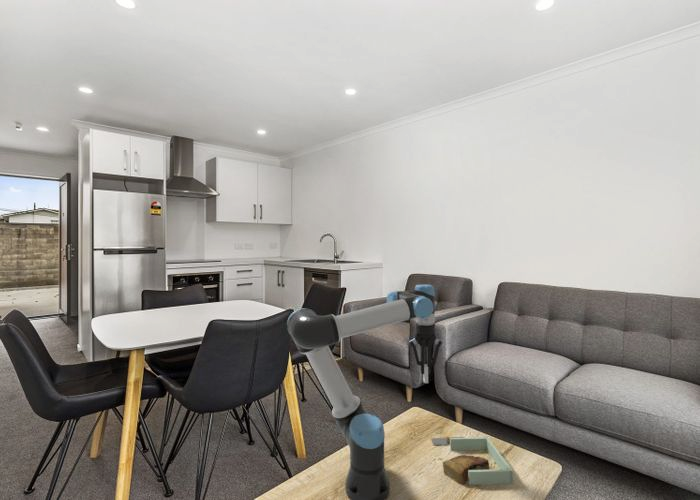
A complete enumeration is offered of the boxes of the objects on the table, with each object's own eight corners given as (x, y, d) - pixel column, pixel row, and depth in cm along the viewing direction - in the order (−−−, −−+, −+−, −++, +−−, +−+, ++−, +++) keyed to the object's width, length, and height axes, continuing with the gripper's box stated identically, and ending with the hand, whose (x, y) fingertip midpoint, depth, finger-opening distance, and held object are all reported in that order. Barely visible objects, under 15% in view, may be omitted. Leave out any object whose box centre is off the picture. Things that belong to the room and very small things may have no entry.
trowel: (433, 445, 150) (433, 441, 150) (431, 439, 154) (431, 436, 154) (467, 444, 150) (467, 440, 150) (463, 438, 155) (463, 435, 155)
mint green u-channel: (469, 484, 125) (469, 471, 125) (450, 448, 147) (450, 438, 147) (513, 483, 126) (513, 470, 126) (487, 448, 148) (487, 437, 148)
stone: (457, 486, 125) (457, 471, 125) (441, 470, 134) (441, 456, 134) (491, 476, 130) (491, 462, 130) (474, 462, 139) (474, 448, 139)
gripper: (410, 325, 141) (410, 385, 141) (443, 325, 141) (444, 385, 141) (407, 321, 148) (408, 378, 149) (439, 321, 148) (439, 378, 149)
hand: (425, 381), depth 145 cm, fingers closed
